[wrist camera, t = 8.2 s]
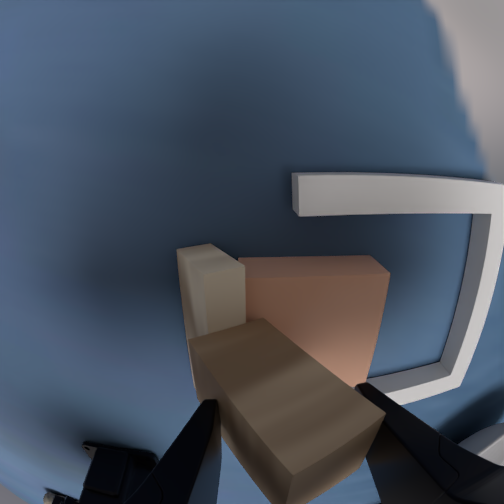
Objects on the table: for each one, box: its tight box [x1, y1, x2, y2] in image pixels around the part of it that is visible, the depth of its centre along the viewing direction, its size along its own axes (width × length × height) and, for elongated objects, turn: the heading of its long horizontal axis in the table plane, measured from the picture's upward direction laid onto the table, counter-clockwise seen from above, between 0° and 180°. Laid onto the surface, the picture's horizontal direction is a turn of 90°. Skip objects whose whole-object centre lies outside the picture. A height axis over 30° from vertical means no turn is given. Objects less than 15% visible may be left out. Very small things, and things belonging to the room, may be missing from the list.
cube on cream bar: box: [176, 243, 386, 504], centre depth 10 cm, size 8×3×9 cm, turn 0°
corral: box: [292, 172, 504, 405], centre depth 13 cm, size 13×12×2 cm
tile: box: [238, 255, 391, 387], centre depth 13 cm, size 6×6×2 cm
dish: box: [458, 423, 504, 465], centre depth 18 cm, size 18×14×5 cm
